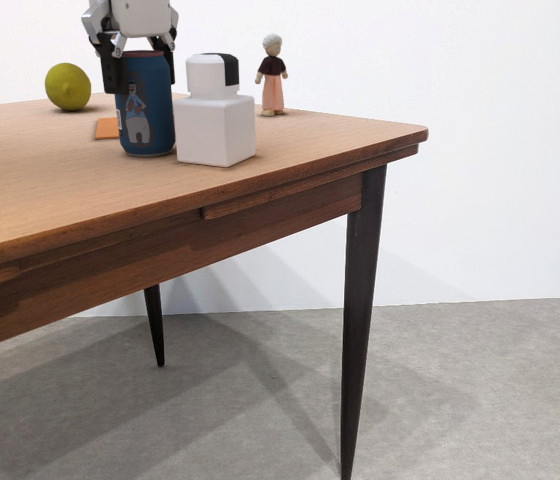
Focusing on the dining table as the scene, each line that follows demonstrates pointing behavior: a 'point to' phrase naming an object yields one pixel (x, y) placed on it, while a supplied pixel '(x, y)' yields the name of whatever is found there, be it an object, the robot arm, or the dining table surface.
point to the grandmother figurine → (272, 76)
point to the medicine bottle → (214, 113)
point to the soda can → (146, 105)
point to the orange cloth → (107, 128)
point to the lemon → (68, 86)
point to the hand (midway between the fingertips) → (141, 88)
